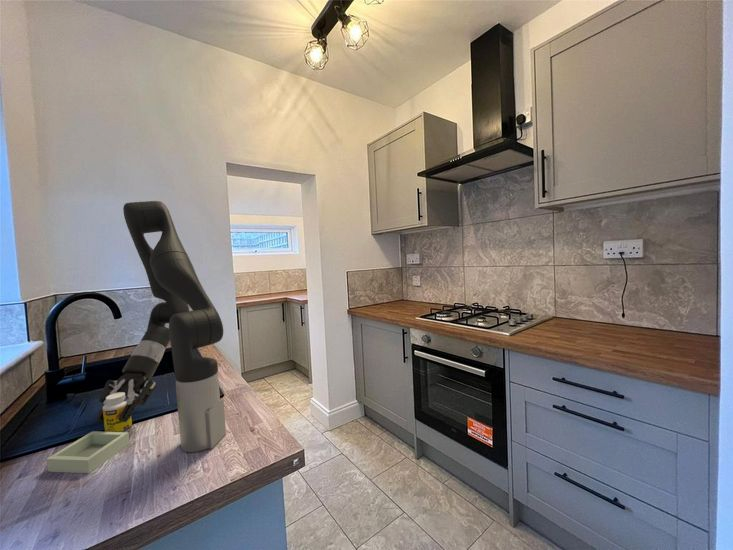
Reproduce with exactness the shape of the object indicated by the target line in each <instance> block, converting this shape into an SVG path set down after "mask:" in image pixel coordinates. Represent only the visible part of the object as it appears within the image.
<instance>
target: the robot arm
mask: <svg viewBox="0 0 733 550" xmlns="http://www.w3.org/2000/svg"><path fill="white" fill-rule="evenodd" d="M122 209H123V217H124V220H125V224H126V226H127V229H128V232H129V235H130V237H131V239H132V241H133V244H134V246H135V249H136V251H137V254H138V256H139V258H140V260H141V263H142V265H143V267H144V270H145V273H146V275H147V279H148V280H147V281H148V284H149V288H150V290H151V294H152V295H153V297H154V298H155V299H156V298H157V299H159V300H162V301H163V302H160V303H157V304H156V305H154V306H153V308H152V310H151V311H150V315H149V319H148V323H147V329H146V331H145V333H144V335H143V336H142V338H141V340H140V341H139V343H138V344H137V345H136V346H135V347H134V349H133V351H132V353H131V355H130V357H128V360H127V362H126V363H125V365H124V366H123V368H122V369H121V370H122V375H121V376H119V378H118V379H117V380H111V379H108V380H107V381H106V382H105V384H104V387H103V390H102V392H101V394H100V396H99V399H98V402H100V403H101V404H103V405H102V407H101V408H100V410H99V412H98V414H97V416H96V420H97V421H100V422H104V417H103V406H104V405H105V404H106V397H107V396H109V395H111V394H114V393H118V392H124V393H125V396H126V397H128V398H127V399H128V405H126V406H125V408H124V410H123V412H122V414H121V415H120V417H119V421H122V422H127V420H128V419H129V418H130V417H131V418H132V415H133V413H134V412H135V409H136V408H137V407H138V406H140V405H142V406H144V405H145V404H146V403H147V401H148V400H149V398H150V397H151V395H152V394H153V393H154V391H155V389H156V388H157V386H158V383H156V382H155V380H154V381H153V380H152V379H151V378H153V376H154V374H155V372H156V370H157V368H158V367H159V365H160V362H161V361H162V359H163V356H164V353H165V350H166V349H167V347H168V345H169V343H170V347H171V354H172V355H171V356H172V364H173V369H174V370H173V371H174V377H175V378H174V379H175V391H176V393H175V394H176V402H177V403H176V404H177V416H178V417H177V418H178V428H179V439H180V440H179V441H180V449H181V450H182V451H183V452H186V453H196V452H201V451H206V450H210V449H214V447H215V446H216V445H217V444H219V442H220V441H221V440H222V439H223V437H224V436H225V435H226V434H227V430H226V416H225V415H226V412H225V400H224V399H223V398H220V397H221V396H220V395H221V394H220V379H219V365H218V364H219V363H218V361H217V360H216V359H215V358H213V357H207V356H195V355H194V354H193V350H195V349H200V348H204V347H207V346H211V345H215V344H217V343H218V342H220V341H222V339H223V337H224V325H223V322H222V319H221V317H220V315H219V313H218V310H217V309H216V307H215V305H214V303H212V301H211V300H210V298H209V296H208V294H207V292H206V291H205V290H204V287H203V285H202V284H201V281H200V279H199V278H198V275H197V272H196V269H195V268H194V266H193V264H192V262H191V259H190V257H189V256H188V253H187V251H186V250H185V247H184V245H183V243H182V241H181V240H180V238H179V235H178V232H177V230H176V227H175V224H174V221H173V219H172V215H171V213H170V210H169V209H168V207H167V205H166V204H165V203H164V202H162V201H158V200H150V201H147V200H146V201H134V202H126V203H124V204H123V208H122ZM151 233H161V235H160V238H159V240H158V241H157V243H156V245H155V246H154V248H152V247H151V246H150V245H149V243H148V241H147V240H146V238H145V234H151ZM189 307H190V308H191V311H190V308H189ZM166 324H168V327H166ZM150 379H151V380H150Z"/></svg>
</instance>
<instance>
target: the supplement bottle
mask: <svg viewBox="0 0 733 550" xmlns="http://www.w3.org/2000/svg"><path fill="white" fill-rule="evenodd" d="M126 397H127V395H126V396H125V393H124V392H117V393H114V394H111V395H109V396H107V395H106V397H105V398H106V404H105V405H104V406H103V405H102V407H103V417H104V421H103V425H104V432H130V430H132V429H133V422H132V419H133V417H132V416H131V417H130V418H129V419H128V420H127V422H122V421H119V417H120V415H121V414H122V412H123V410H124V408H125V406H126V405H128V398H126Z"/></svg>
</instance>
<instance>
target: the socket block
mask: <svg viewBox="0 0 733 550" xmlns="http://www.w3.org/2000/svg"><path fill="white" fill-rule="evenodd" d="M129 432H130V431H128V432H105V431H96V430H95V431H90V432H88V433H87V434H86V435H84V436H82V437H81V438H78V439H77V440H75V441H74V442H72V443H71V444H69V445H67V446H65V447H64V448H62V449H60V450H59V451H57V452H56V453H54V454H52V455H50V456H48V457H47V458H46V464H47V472H50V473H73V474H90V473H92V472H93V471H94V470H96V469H97V468H98V467H100V466H102V465H103V464H104V463H106V462H107V461H108V460H109V459H112V457H114V456H115V455H117V454H118V453H120V452H121V451H122V450H123V449H125V448H126V447H127V446H129V445H130V434H129Z"/></svg>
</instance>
